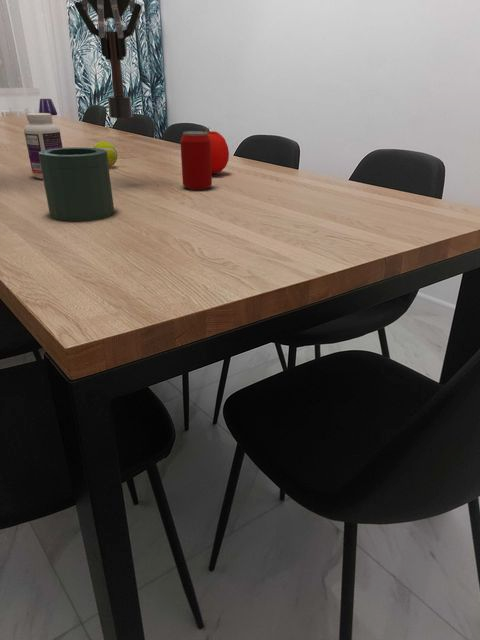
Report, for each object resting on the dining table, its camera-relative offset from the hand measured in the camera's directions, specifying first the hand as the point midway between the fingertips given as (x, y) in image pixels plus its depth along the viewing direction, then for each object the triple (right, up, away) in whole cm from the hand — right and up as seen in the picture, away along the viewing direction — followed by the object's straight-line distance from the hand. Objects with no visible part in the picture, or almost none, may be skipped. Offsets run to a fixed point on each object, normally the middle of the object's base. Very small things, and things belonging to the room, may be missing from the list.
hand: (114, 59), depth 105 cm
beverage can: (+16, -23, +12) cm, 31 cm away
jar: (-3, -35, -10) cm, 37 cm away
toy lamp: (-28, -8, +38) cm, 48 cm away
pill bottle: (-22, -18, +20) cm, 35 cm away
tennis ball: (-13, -10, +34) cm, 38 cm away
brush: (0, -10, +5) cm, 11 cm away
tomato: (+16, -14, +28) cm, 36 cm away
